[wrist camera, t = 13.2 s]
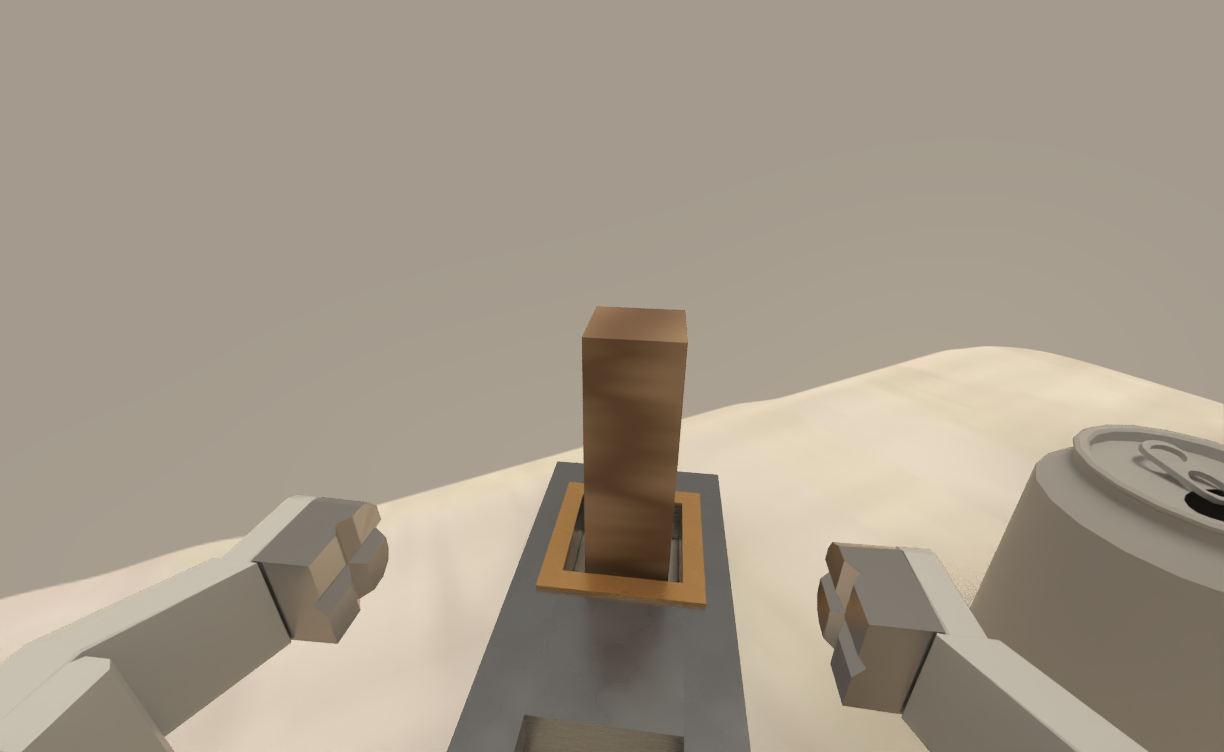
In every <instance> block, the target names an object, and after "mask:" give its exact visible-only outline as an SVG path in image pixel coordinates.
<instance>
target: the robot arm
mask: <svg viewBox="0 0 1224 752" xmlns="http://www.w3.org/2000/svg"><path fill="white" fill-rule="evenodd" d="M380 520H381V518H380V515H379V512H378V508H377V505H374V504H372V503H369V502H361V501H351V500H342V499H334V498H325V497H321V498H318V497H311V496H302V495H296V496H293V497H290V498H287V499H286V500H285V501H284V502H283V503H281V505H279V506H278V507H277V508H276V509H275V510H274V511H273V512H272V513H271V514H269V515H268V516H267V517H266V518H265V519H264V520H263V521H262V522H261V523H260V524H258V525H257V526H256V527H255V528H254V529H253V530H252V531H251V532H250V533H249V534H247V535H246V536H245V537H244V538H243V539H242V540H241V541H240V542H239V543H238V544H236V545H235V546H234V547H233V548H232V549H231V550H230V551H229V552H228V553H227V554H225V555H224V556H223V557H222V558H221V559H216V558H212V559H210V560H208V561H205V562H203V563H201V564H199V565H197V566H195V567H192V568H190V569H188V570H186V571H184V572H182V573H179V574H177V575H175V576H173V577H171V578H169V579H166V580H164V581H162V582H160V583H158V584H156V585H153V586H151V587H149V588H147V589H145V590H143V591H140V592H138V593H136V594H134V595H132V596H130V597H127V598H125V599H123V600H121V601H119V602H117V603H114V604H112V605H110V606H108V607H106V608H104V609H101V610H99V611H97V612H95V613H93V614H91V615H88V616H86V617H84V618H82V619H80V620H78V621H75V622H73V623H71V624H69V625H67V626H65V627H62V628H60V629H58V630H56V631H54V632H52V633H49V634H47V635H45V636H43V637H41V638H39V639H36V640H34V641H32V642H30V643H28V644H26V645H24V646H23V647H22V648H20V649H19V650H18V651H16V652H15V653H14V654H12V655H11V656H10V657H9V658H7V659H6V660H5V661H3V662H2V663H1V664H0V752H174V750H173V749H172V747H171V746H170V744H169V743H168V742H167V740H166V739H165V736H166V735H168V734H169V733H170V732H172V731H173V730H174V729H176V728H177V727H178V726H180V725H181V724H182V723H184V722H185V721H186V720H188V719H189V718H190V717H192V716H193V715H194V714H196V713H197V712H198V711H200V710H201V709H203V708H204V707H205V706H207V705H208V704H209V703H211V702H212V701H213V700H215V699H216V698H217V697H219V696H220V695H221V694H223V693H224V692H225V691H227V690H228V689H229V688H231V687H232V686H233V685H235V684H236V683H237V682H239V681H240V680H241V679H243V678H244V677H245V676H247V675H248V674H250V673H251V672H252V671H254V670H255V669H256V668H258V667H259V666H260V665H262V664H263V663H264V662H266V661H267V660H268V659H270V658H271V657H272V656H274V655H275V654H276V653H278V652H279V651H280V650H282V649H283V648H284V647H286V646H287V645H288V644H290V643H291V640H301V641H312V642H324V643H335V644H338V642H339V641H340V639H341V638H342V637H343V635H344V634H345V632H346V631H347V629H348V628H349V626H350V625H351V623H352V622H353V620H354V619H355V617H356V616H357V615H358V613H359V612H360V598H362V597H363V596H365V595H366V594H368V593H370V592H371V591H373V590H374V589H375V588H376V586H377V585H378V583H379V582H380V580H381V579H382V577H383V575H384V572H385V569H386V566H387V562H388V550H389V548H388V544H387V540H386V537H385V536H384V535H383V534H382V533H381V532H380V531H379V530H378V529H377V528H376V527H377V525H378V523H379V522H380ZM825 560H826V563H827V566H828V569H829V573H827V574H826V575H825V576H823V577H822V578H821V579H820V584H819V588H818V593H817V611H818V617H819V624H820V627H821V631H822V635H823V638H824V639H825V640H826V641H827V642H828V643H829V644H830V645H831V646H832V647H833V648H834V653H833V656H832V660H831V667H832V671H833V674H834V677H835V681H836V684H837V688H838V691H839V695H840V698H841V702H842V705H843V706H849V707H856V708H862V709H869V710H876V711H882V712H889V713H895V714H902V717H901V718H902V719H903V720H904V721H905V722H906V724H907V725H908V726H909V727H910V728H911V730H912V731H913V732H914V733H915V734H916V735H917V737H918V738H919V739H920V740H921V741H922V743H923V744H924V745H925V746H926V747H927V749H928V750H929V751H930V752H1148V751H1147V750H1145V749H1144V748H1143V747H1141V746H1140V745H1139V744H1137V743H1136V742H1135V741H1133V740H1132V739H1131V738H1129V737H1128V736H1127V735H1125V734H1124V733H1123V732H1121V731H1120V730H1119V729H1117V728H1116V727H1115V726H1113V725H1112V724H1111V723H1109V722H1108V721H1107V720H1105V719H1104V718H1103V717H1101V716H1100V715H1099V714H1097V713H1096V712H1095V711H1093V710H1092V709H1091V708H1089V707H1088V706H1087V705H1085V704H1084V703H1083V702H1081V701H1080V700H1079V699H1077V698H1076V697H1075V696H1073V695H1072V694H1071V693H1069V692H1068V691H1067V690H1065V689H1064V688H1063V687H1061V686H1060V685H1059V684H1057V683H1056V682H1055V681H1053V680H1052V679H1051V678H1049V677H1048V676H1047V675H1045V674H1044V673H1043V672H1041V671H1040V670H1039V669H1037V668H1036V667H1035V666H1033V665H1032V664H1031V663H1029V662H1028V661H1026V660H1025V659H1024V658H1022V657H1021V656H1020V655H1018V654H1017V653H1016V652H1014V651H1013V650H1012V649H1010V648H1009V647H1008V646H1006V645H1005V644H1004V643H1002V642H1001V641H1000V640H994V639H988V638H987V636H986V634H985V633H984V631H983V629H982V628H981V626H980V625H979V623H978V621H977V620H976V618H975V617H974V615H973V613H972V612H971V610H970V608H969V607H968V605H967V604H966V602H965V600H964V599H963V597H962V595H961V594H960V592H959V591H958V589H957V587H956V586H955V584H954V583H953V581H952V579H951V578H950V576H949V574H948V573H947V571H946V570H945V568H944V566H943V565H942V563H941V561H940V560H939V558H938V557H937V555H936V554H935V553H934V552H932V551H931V550H930V549H920V548H906V547H895V548H894V547H888V546H875V545H863V544H850V543H837V542H832V544H831V545H830V546H829V548H828V551H827V555H826V559H825Z"/></svg>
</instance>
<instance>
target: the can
mask: <svg viewBox="0 0 1224 752" xmlns="http://www.w3.org/2000/svg"><path fill="white" fill-rule="evenodd" d="M1073 444H1074V447H1070V448H1066V449H1063V450H1059V451H1056V452H1052V453H1048V454H1047V455H1046V456H1044V457H1043V458H1042V459H1041V460H1040V461H1038V462H1037V463H1036V465H1035V467H1034V469H1033V471H1032V473H1031V476H1030V478H1029V480H1028V482H1027V484H1026V487H1025V489H1024V491H1023V493H1022V495H1021V498H1020V500H1019V502H1018V504H1017V506H1016V509H1015V511H1014V513H1013V515H1012V517H1011V520H1010V522H1009V524H1008V526H1007V528H1006V531H1005V533H1004V535H1003V537H1002V539H1001V542H1000V544H999V546H998V548H997V550H996V552H995V555H994V557H993V559H992V561H991V563H990V566H989V568H988V570H987V572H986V574H985V577H984V579H983V581H982V583H981V585H980V588H979V590H978V592H977V594H976V596H975V599H974V601H973V603H972V605H971V607H970V610H971V612H972V613H973V615H974V617H975V618H976V620H977V621H978V623H979V625H980V626H981V628H982V629H983V631H984V633H985V634H986V636H987V638H988V639H994V640H1000V641H1001V642H1002V643H1004V644H1005V645H1006V646H1008V647H1009V648H1010V649H1012V650H1013V651H1014V652H1016V653H1017V654H1018V655H1020V656H1021V657H1022V658H1024V659H1025V660H1026V661H1028V662H1029V663H1031V664H1032V665H1033V666H1035V667H1036V668H1037V669H1039V670H1040V671H1041V672H1043V673H1044V674H1045V675H1047V676H1048V677H1049V678H1051V679H1052V680H1053V681H1055V682H1056V683H1057V684H1059V685H1060V686H1061V687H1063V688H1064V689H1065V690H1067V691H1068V692H1069V693H1071V694H1072V695H1073V696H1075V697H1076V698H1077V699H1079V700H1080V701H1081V702H1083V703H1084V704H1085V705H1087V706H1088V707H1089V708H1091V709H1092V710H1093V711H1095V712H1096V713H1097V714H1099V715H1100V716H1101V717H1103V718H1104V719H1105V720H1107V721H1108V722H1109V723H1111V724H1112V725H1113V726H1115V727H1116V728H1117V729H1119V730H1120V731H1121V732H1123V733H1124V734H1125V735H1127V736H1128V737H1129V738H1131V739H1132V740H1133V741H1135V742H1136V743H1137V744H1139V745H1140V746H1141V747H1143V748H1144V749H1145V750H1147V751H1148V752H1224V445H1222V444H1219V443H1216V442H1213V441H1209V440H1206V439H1202V438H1198V437H1193V436H1189V435H1185V434H1181V433H1176V432H1172V431H1168V430H1162V429H1155V428H1148V427H1141V426H1135V425H1102V426H1097V427H1091V428H1086V429H1083V430H1082V431H1081V432H1079V433H1078V434H1077V435H1076V436H1075V437H1074V438H1073Z"/></svg>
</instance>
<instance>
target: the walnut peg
mask: <svg viewBox="0 0 1224 752" xmlns="http://www.w3.org/2000/svg"><path fill="white" fill-rule="evenodd" d="M687 345H688V341H687V327H686V313H685V310H664V309H641V308H621V307H600V306H599V307H598V306H597V307H596V309H595V311H594V313H593V315H592V317H591V319H590V321H589V323H588V326H587V328H586V330H585V332H584V334H583V336H582V370H583V371H582V372H583V445H584V518H585V573H593V574H602V575H611V576H621V577H630V578H639V579H649V580H658V581H668V573H669V561H670V549H671V537H672V525H673V513H674V501H675V489H676V477H677V465H678V453H679V441H680V429H681V416H682V405H683V393H684V380H685V369H686V357H687Z"/></svg>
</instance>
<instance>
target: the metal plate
mask: <svg viewBox="0 0 1224 752" xmlns="http://www.w3.org/2000/svg"><path fill="white" fill-rule="evenodd" d="M583 530H585V518H584V464H581V463H569V462H557V464H556V467H555V470H554V472H553V475H552V477H551V480H550V483H549V485H548V488H547V491H546V493H545V496H544V498H543V501H542V504H541V506H540V509H539V512H538V514H537V517H536V519H535V522H534V525H533V527H532V530H531V533H530V535H529V538H528V540H527V543H526V546H525V548H524V551H523V554H522V556H521V559H520V561H519V564H518V567H517V569H516V572H515V575H514V577H513V580H512V582H511V585H510V588H509V590H508V593H507V595H506V598H505V601H504V603H503V606H502V609H501V611H500V614H499V616H498V619H497V622H496V624H495V627H494V630H493V632H492V635H491V637H490V640H489V643H488V645H487V648H486V651H485V653H484V656H483V658H482V661H481V664H480V666H479V669H478V672H477V674H476V677H475V679H474V682H473V685H472V687H471V690H470V693H469V695H468V698H467V700H466V703H465V706H464V708H463V711H462V714H461V716H460V719H459V721H458V724H457V727H456V729H455V732H454V735H453V737H452V740H451V742H450V745H449V748H448V750H447V752H751V751H750V743H749V734H748V726H747V717H746V709H745V700H744V692H743V683H742V675H741V667H740V658H739V650H738V641H737V633H736V624H735V616H734V607H733V599H732V591H731V582H730V574H729V565H728V557H727V548H726V540H725V531H724V523H723V515H722V506H721V498H720V489H719V481H718V475H713V474H701V473H689V472H677V477H676V489H675V501H674V513H673V525H672V537H671V538H676V539H679V583H677V582H668V581H658V580H649V579H639V578H630V577H621V576H611V575H602V574H593V573H583V572H574V571H573V570H574V566H575V562H576V558H577V554H578V550H579V546H580V542H581V538H582V534H583Z"/></svg>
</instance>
